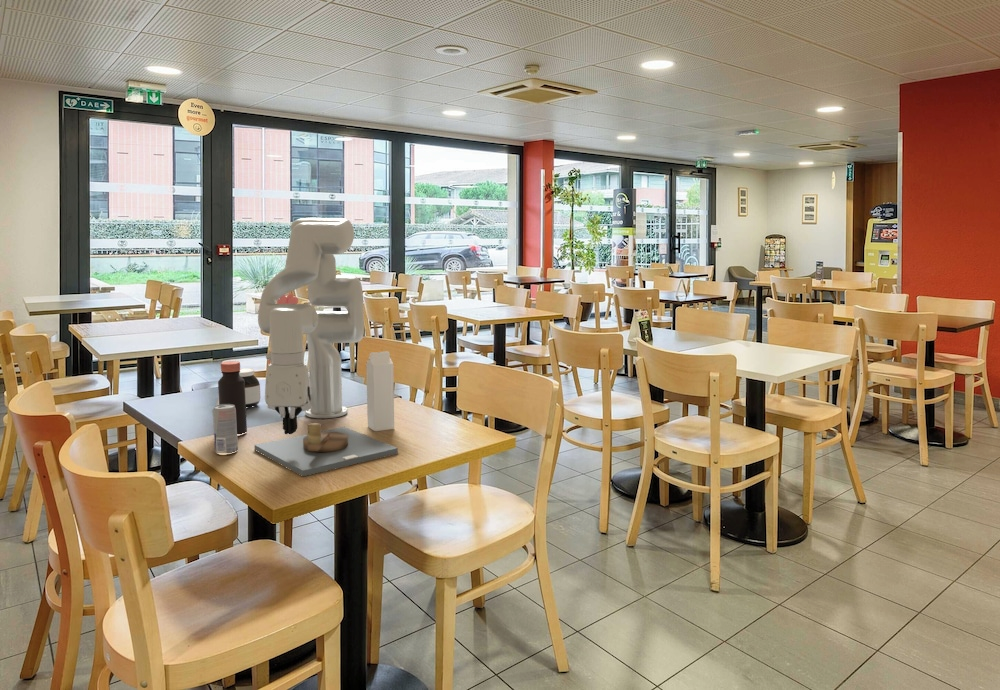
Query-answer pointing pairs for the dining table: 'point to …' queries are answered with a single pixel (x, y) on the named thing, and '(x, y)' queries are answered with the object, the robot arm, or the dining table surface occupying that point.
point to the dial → (323, 440)
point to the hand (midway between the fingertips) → (290, 432)
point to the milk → (380, 391)
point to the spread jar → (250, 387)
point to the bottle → (233, 392)
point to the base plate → (313, 462)
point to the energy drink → (225, 428)
